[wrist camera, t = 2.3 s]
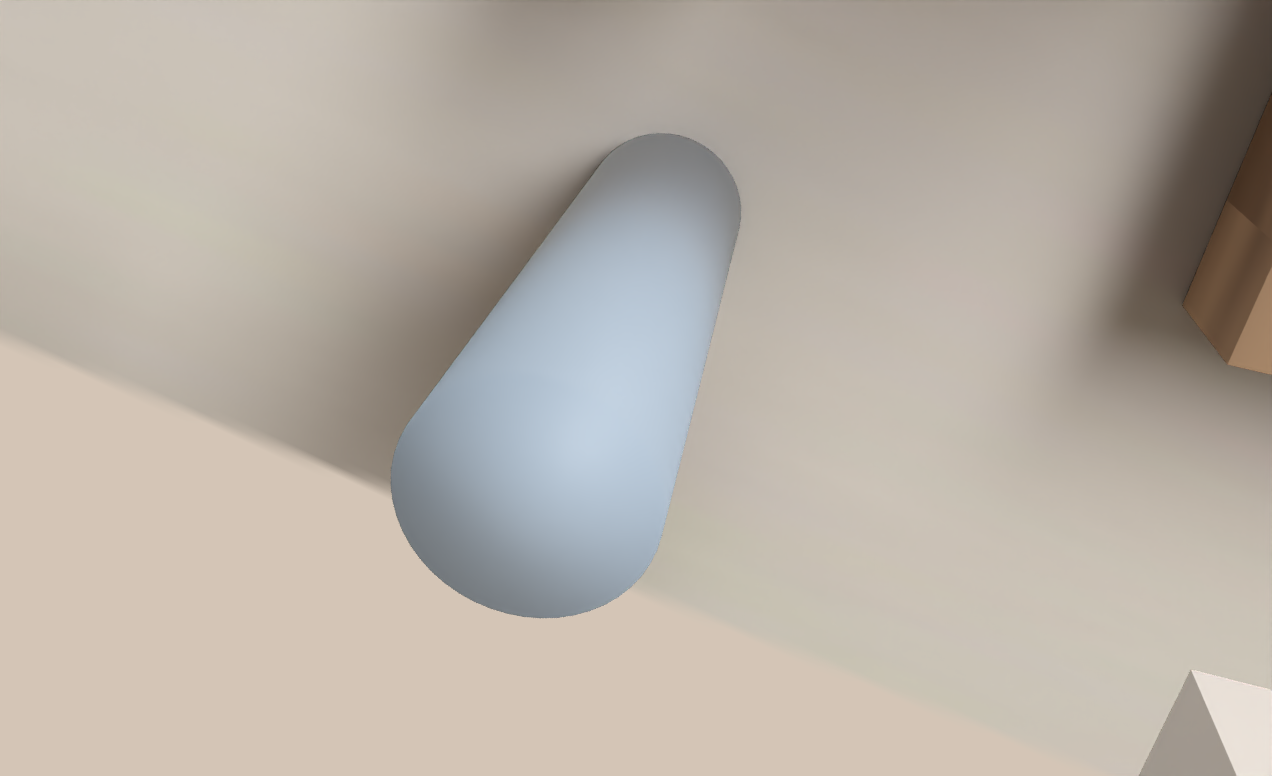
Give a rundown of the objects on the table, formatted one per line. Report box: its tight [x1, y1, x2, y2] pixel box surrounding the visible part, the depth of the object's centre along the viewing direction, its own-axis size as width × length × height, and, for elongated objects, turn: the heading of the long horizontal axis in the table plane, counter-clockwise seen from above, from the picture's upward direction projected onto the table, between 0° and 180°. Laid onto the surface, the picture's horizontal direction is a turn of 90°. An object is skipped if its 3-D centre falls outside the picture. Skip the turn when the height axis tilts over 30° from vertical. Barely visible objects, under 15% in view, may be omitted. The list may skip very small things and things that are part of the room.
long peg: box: [391, 134, 741, 618], centre depth 19 cm, size 3×3×12 cm
